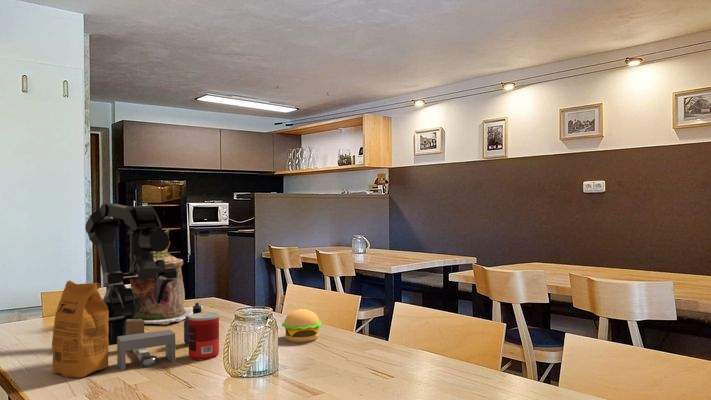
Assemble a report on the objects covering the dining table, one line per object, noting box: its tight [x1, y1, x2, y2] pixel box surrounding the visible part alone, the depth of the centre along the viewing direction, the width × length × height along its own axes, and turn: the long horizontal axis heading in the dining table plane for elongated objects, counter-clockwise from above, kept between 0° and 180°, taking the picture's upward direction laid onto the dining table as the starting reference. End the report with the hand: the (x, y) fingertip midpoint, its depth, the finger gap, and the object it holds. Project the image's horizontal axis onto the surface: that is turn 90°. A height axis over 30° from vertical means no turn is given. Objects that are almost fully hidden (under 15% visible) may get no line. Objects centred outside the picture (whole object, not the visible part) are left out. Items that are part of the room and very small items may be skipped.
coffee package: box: [51, 280, 110, 379], centre depth 125 cm, size 10×12×22 cm
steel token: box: [139, 354, 158, 368], centre depth 130 cm, size 4×4×2 cm
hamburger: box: [281, 308, 322, 343], centre depth 155 cm, size 12×12×9 cm
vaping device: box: [183, 302, 202, 346], centre depth 149 cm, size 3×5×12 cm, turn 78°
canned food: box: [188, 311, 220, 361], centre depth 137 cm, size 8×8×11 cm
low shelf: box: [116, 328, 176, 371], centre depth 132 cm, size 6×13×7 cm, turn 124°
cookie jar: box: [128, 229, 204, 326], centre depth 186 cm, size 25×25×32 cm
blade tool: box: [126, 319, 151, 361], centre depth 139 cm, size 16×4×8 cm, turn 34°
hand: (141, 305), depth 144 cm, fingers open, 9 cm apart
